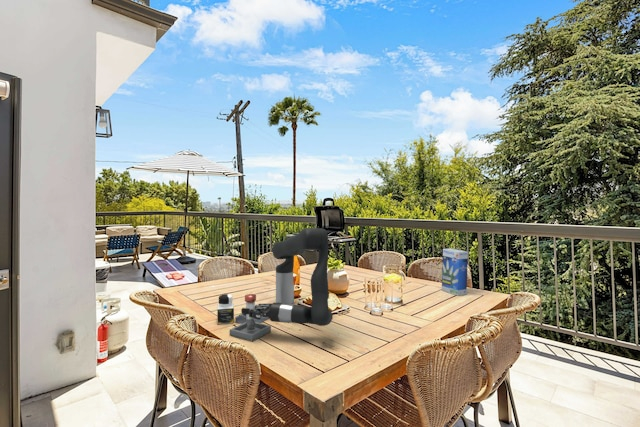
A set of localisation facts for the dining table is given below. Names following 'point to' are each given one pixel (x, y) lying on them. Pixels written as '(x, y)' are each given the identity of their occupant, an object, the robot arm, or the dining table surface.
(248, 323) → the pin
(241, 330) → the tray
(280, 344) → the dining table surface
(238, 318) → the tensioner block
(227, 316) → the medicine bottle
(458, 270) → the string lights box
